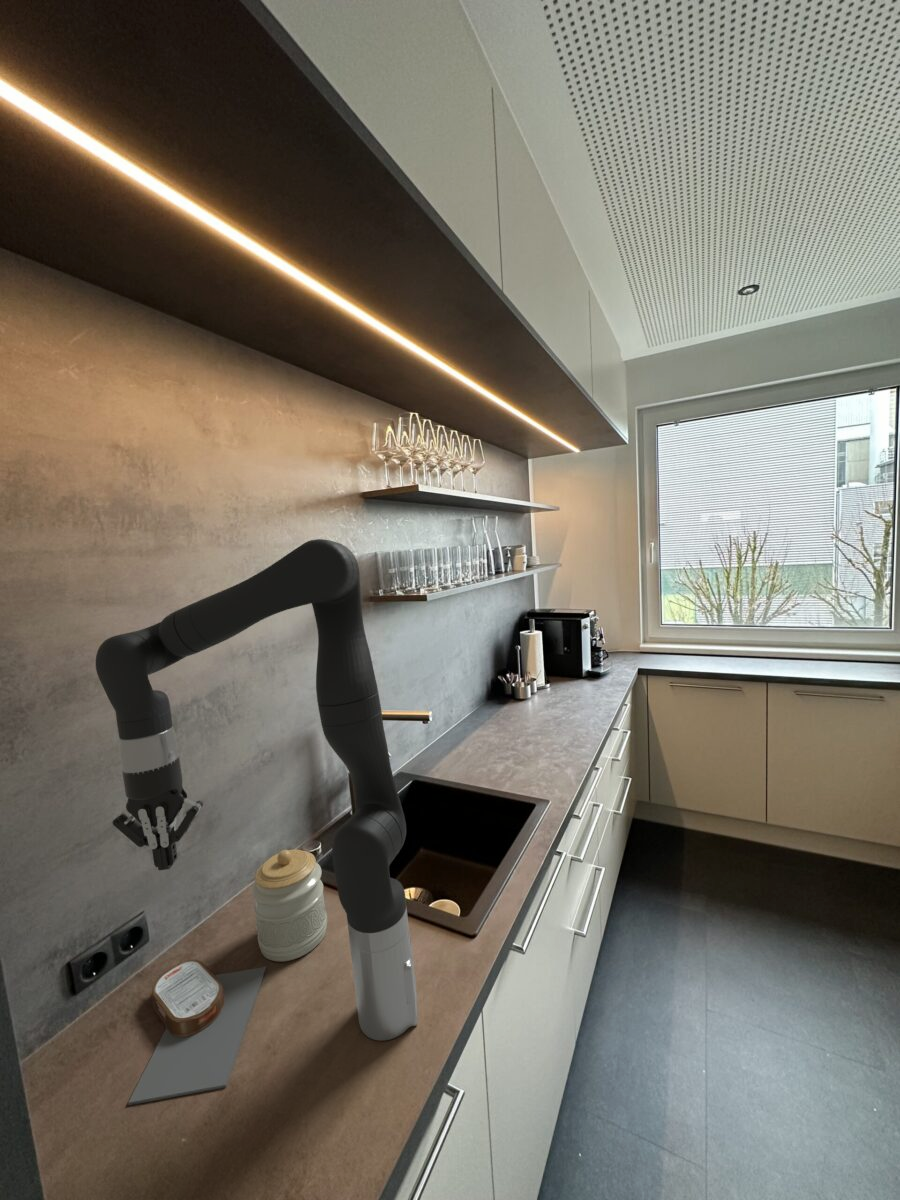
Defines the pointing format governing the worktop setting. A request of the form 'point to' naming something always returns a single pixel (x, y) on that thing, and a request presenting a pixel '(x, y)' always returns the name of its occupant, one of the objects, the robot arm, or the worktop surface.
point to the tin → (187, 998)
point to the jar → (289, 905)
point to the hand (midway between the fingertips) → (166, 866)
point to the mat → (202, 1046)
